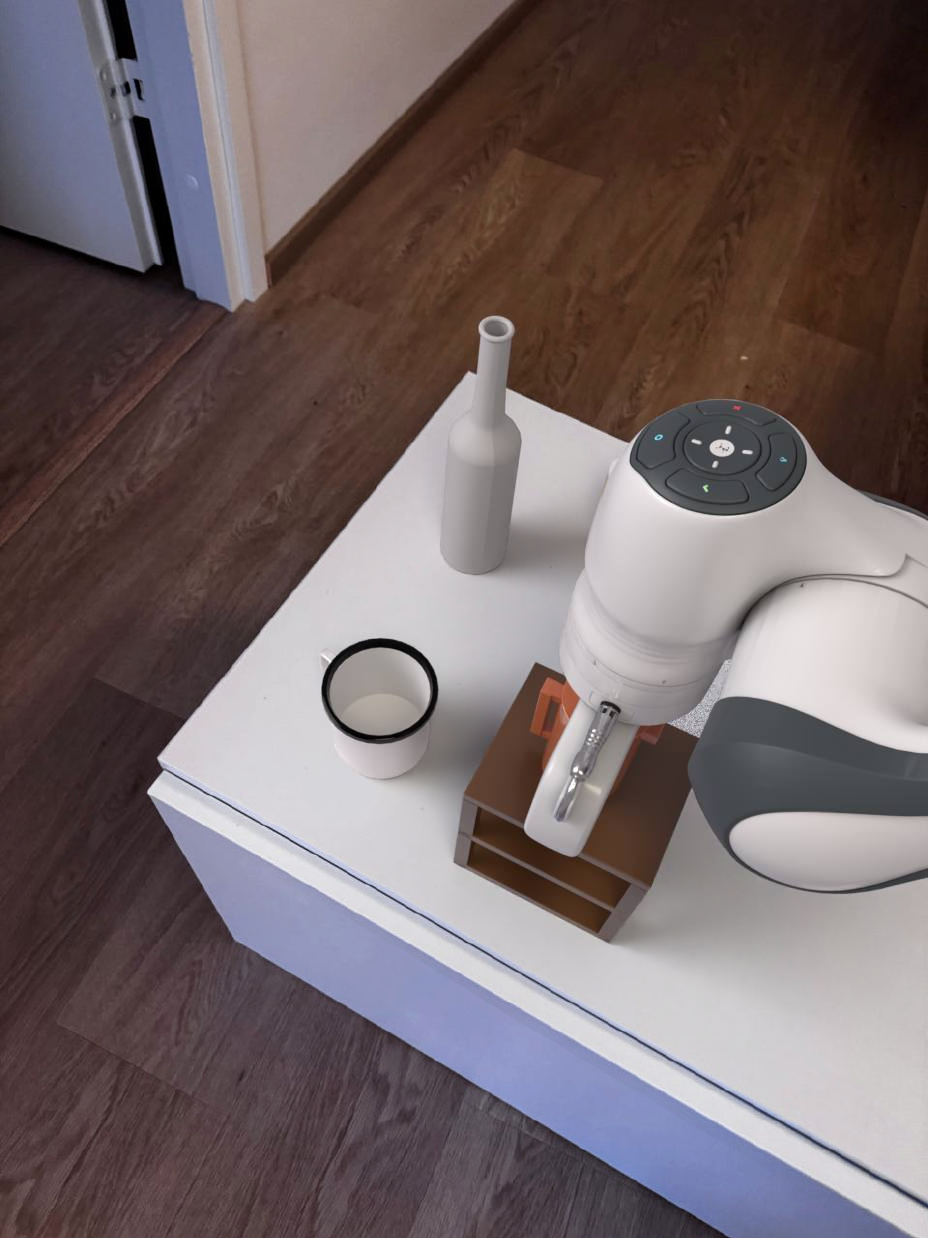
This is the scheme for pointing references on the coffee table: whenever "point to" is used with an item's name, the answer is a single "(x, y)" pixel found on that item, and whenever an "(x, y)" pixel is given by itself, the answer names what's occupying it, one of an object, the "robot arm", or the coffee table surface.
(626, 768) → the orange two-handled pot
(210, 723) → the coffee table surface
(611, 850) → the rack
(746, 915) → the coffee table surface
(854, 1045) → the coffee table surface
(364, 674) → the mug
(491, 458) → the bottle
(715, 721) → the robot arm
